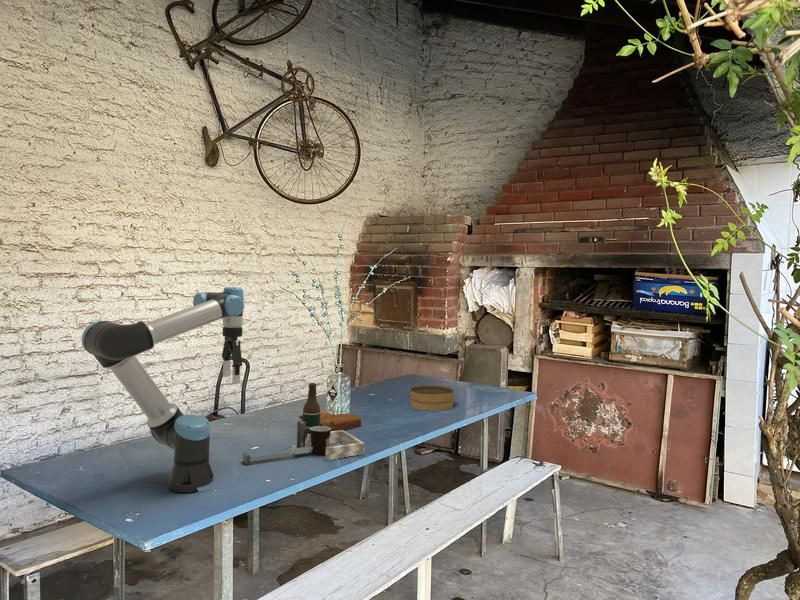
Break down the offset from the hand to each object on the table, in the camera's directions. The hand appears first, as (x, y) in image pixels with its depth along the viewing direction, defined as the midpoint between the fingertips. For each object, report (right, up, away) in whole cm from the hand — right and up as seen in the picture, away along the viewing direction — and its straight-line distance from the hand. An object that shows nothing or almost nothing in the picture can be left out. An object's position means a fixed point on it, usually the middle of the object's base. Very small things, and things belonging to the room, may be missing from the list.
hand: (231, 379), depth 225 cm
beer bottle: (+26, -30, +34) cm, 52 cm away
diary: (+33, -30, +48) cm, 66 cm away
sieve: (+84, -30, +93) cm, 129 cm away
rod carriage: (+29, -30, +8) cm, 43 cm away
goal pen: (+39, -32, +15) cm, 52 cm away
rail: (+15, -31, -1) cm, 35 cm away
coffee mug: (+34, -32, +12) cm, 48 cm away
